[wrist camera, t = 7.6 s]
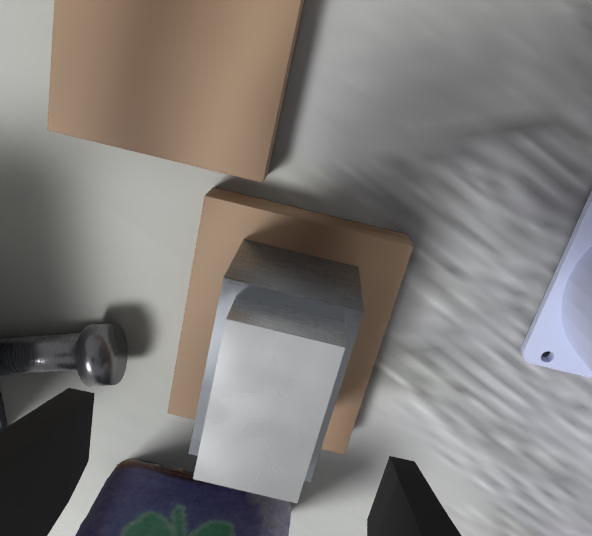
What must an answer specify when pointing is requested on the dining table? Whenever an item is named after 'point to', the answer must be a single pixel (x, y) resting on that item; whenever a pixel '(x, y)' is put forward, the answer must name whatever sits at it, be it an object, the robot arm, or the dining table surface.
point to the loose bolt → (69, 354)
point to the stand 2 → (301, 238)
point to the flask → (179, 506)
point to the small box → (2, 417)
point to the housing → (274, 369)
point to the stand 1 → (175, 77)
